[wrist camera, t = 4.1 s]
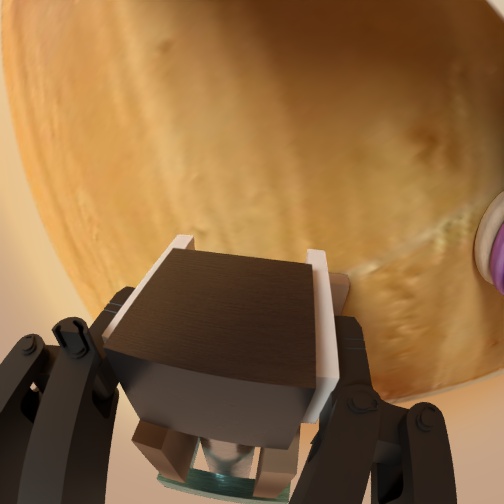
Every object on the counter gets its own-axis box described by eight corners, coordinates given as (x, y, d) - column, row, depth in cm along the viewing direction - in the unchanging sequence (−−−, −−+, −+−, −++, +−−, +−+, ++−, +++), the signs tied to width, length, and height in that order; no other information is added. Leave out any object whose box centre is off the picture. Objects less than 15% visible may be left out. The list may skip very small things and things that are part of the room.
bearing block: (173, 254, 19) (69, 413, 8) (347, 275, 18) (376, 472, 7) (181, 317, 22) (115, 459, 11) (328, 336, 21) (330, 499, 10)
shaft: (173, 247, 10) (102, 346, 6) (312, 264, 10) (315, 388, 5) (205, 438, 19) (190, 490, 15) (266, 448, 18) (258, 502, 14)
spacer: (188, 385, 19) (156, 479, 12) (296, 401, 18) (288, 502, 11) (192, 401, 20) (165, 486, 13) (291, 415, 20) (282, 507, 13)
